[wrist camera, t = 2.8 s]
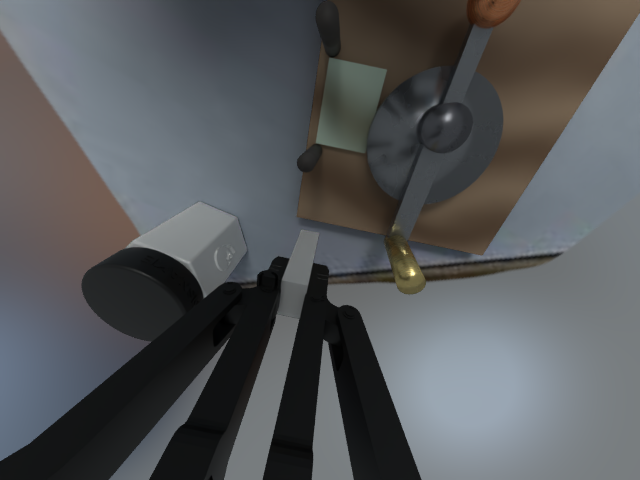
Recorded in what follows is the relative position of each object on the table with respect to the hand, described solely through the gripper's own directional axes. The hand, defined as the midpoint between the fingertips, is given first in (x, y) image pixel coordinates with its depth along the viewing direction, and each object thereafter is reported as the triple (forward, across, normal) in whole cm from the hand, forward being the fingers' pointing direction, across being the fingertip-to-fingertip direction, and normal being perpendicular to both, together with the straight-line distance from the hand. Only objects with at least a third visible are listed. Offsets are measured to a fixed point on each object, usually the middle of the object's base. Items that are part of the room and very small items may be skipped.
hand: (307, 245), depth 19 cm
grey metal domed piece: (+5, +8, +9) cm, 13 cm away
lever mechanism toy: (+7, +8, +10) cm, 14 cm away
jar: (+7, -12, -6) cm, 15 cm away
